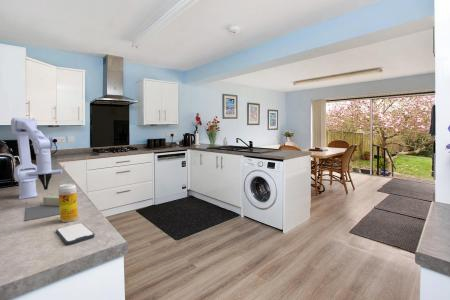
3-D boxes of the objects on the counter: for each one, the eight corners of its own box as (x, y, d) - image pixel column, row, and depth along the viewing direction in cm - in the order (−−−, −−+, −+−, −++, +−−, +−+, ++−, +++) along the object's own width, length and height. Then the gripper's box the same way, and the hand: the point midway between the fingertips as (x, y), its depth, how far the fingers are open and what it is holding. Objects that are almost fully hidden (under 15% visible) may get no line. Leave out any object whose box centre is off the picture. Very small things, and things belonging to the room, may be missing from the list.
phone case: (55, 233, 87) (66, 247, 76) (55, 229, 87) (66, 242, 76) (82, 226, 93) (96, 238, 82) (81, 222, 93) (95, 233, 82)
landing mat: (26, 208, 112) (26, 207, 111) (63, 202, 121) (63, 201, 121) (24, 221, 96) (24, 220, 96) (68, 213, 106) (68, 212, 106)
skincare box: (42, 205, 115) (63, 207, 113) (42, 196, 114) (63, 198, 112) (54, 201, 121) (74, 203, 119) (54, 193, 121) (74, 194, 119)
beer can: (59, 223, 94) (57, 187, 92) (61, 218, 99) (59, 184, 97) (77, 221, 96) (75, 185, 95) (78, 216, 102) (76, 182, 100)
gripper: (24, 164, 108) (26, 193, 109) (62, 162, 117) (64, 188, 118) (24, 163, 113) (27, 190, 114) (61, 160, 122) (62, 185, 124)
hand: (45, 189), depth 117 cm, fingers closed
